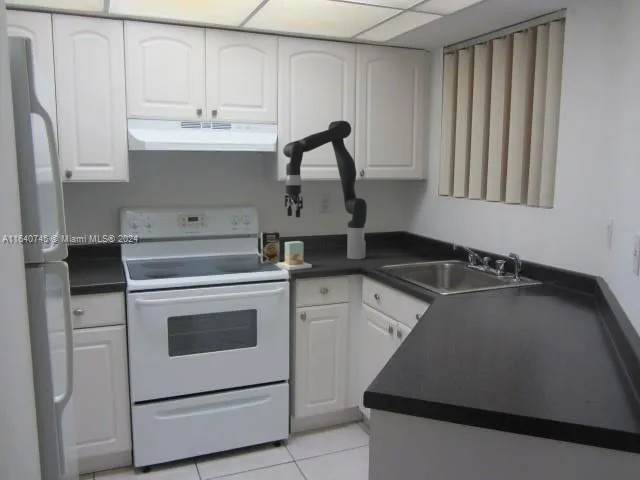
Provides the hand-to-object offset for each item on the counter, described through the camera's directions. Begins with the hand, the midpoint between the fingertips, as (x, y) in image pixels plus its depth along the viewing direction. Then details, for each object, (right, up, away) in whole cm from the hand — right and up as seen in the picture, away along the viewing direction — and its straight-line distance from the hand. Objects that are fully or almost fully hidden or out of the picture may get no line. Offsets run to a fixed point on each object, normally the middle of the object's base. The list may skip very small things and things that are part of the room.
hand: (293, 216), depth 265 cm
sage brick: (0, -18, +3) cm, 19 cm away
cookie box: (-13, -24, +15) cm, 31 cm away
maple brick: (0, -24, +4) cm, 24 cm away
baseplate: (0, -25, +4) cm, 26 cm away
